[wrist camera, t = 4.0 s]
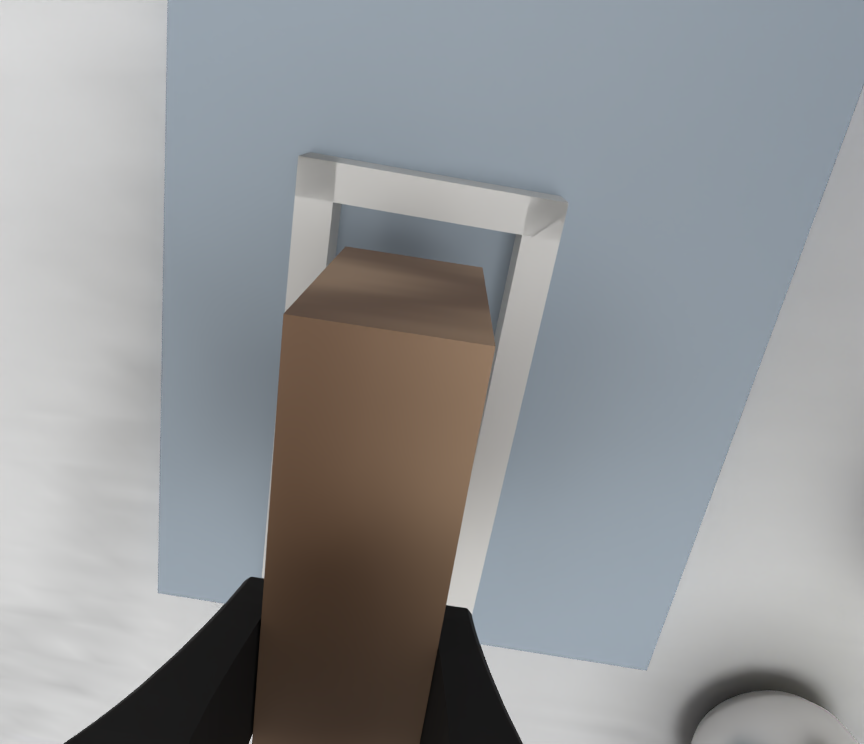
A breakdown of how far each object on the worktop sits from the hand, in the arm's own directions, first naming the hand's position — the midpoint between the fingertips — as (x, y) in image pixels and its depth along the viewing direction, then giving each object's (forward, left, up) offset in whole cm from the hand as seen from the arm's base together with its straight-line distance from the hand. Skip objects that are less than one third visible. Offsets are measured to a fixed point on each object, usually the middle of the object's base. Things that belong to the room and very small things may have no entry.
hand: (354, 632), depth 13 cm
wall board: (-1, -7, -10) cm, 12 cm away
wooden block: (0, -1, -4) cm, 4 cm away
